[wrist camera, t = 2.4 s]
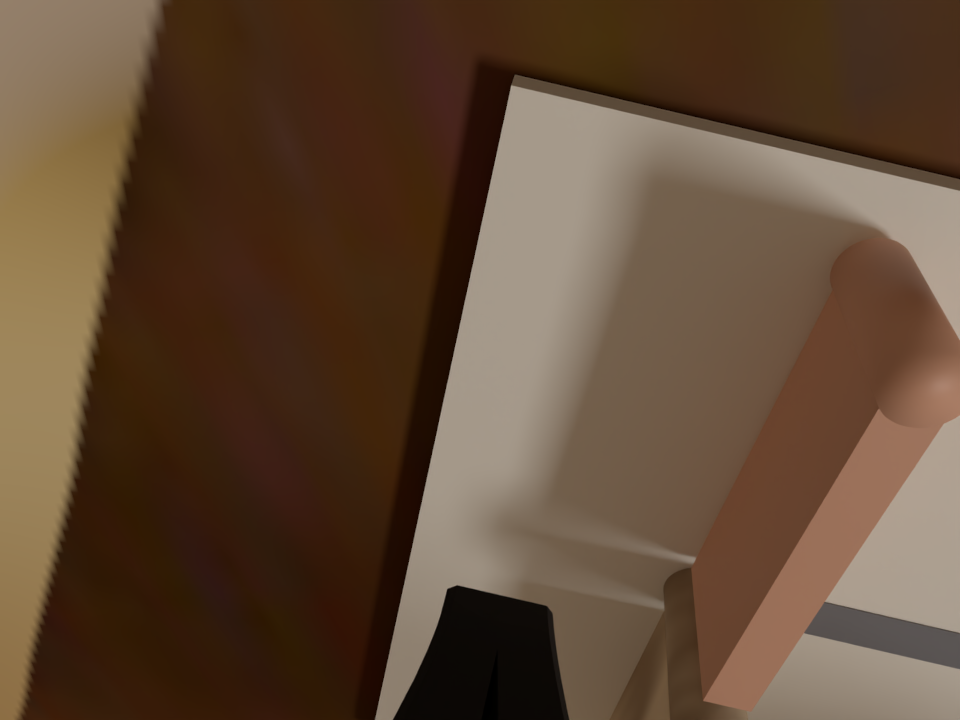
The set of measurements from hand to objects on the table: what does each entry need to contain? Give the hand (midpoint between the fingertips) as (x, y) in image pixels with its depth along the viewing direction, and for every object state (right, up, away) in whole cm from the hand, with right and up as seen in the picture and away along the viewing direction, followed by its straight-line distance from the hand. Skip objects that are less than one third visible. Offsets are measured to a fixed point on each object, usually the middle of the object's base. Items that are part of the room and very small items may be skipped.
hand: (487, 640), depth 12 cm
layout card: (+7, -2, +10) cm, 12 cm away
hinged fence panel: (+6, +2, +6) cm, 9 cm away
